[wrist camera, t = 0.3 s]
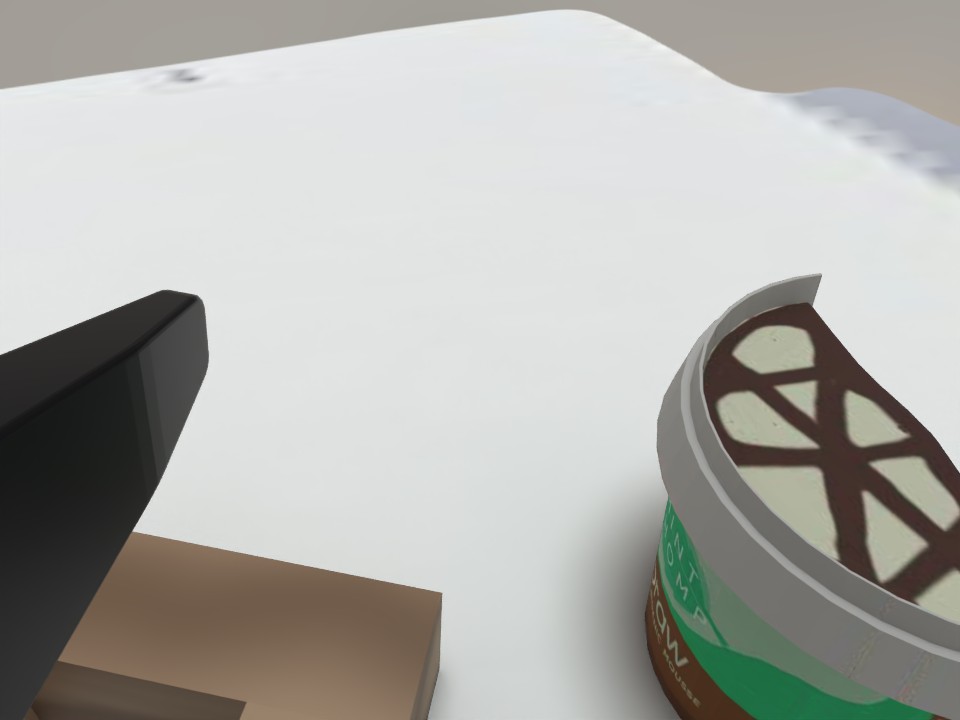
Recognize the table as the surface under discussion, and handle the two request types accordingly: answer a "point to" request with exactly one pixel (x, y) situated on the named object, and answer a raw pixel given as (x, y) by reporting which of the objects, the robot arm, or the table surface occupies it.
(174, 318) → the robot arm
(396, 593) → the socket block
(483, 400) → the table surface
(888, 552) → the food container
